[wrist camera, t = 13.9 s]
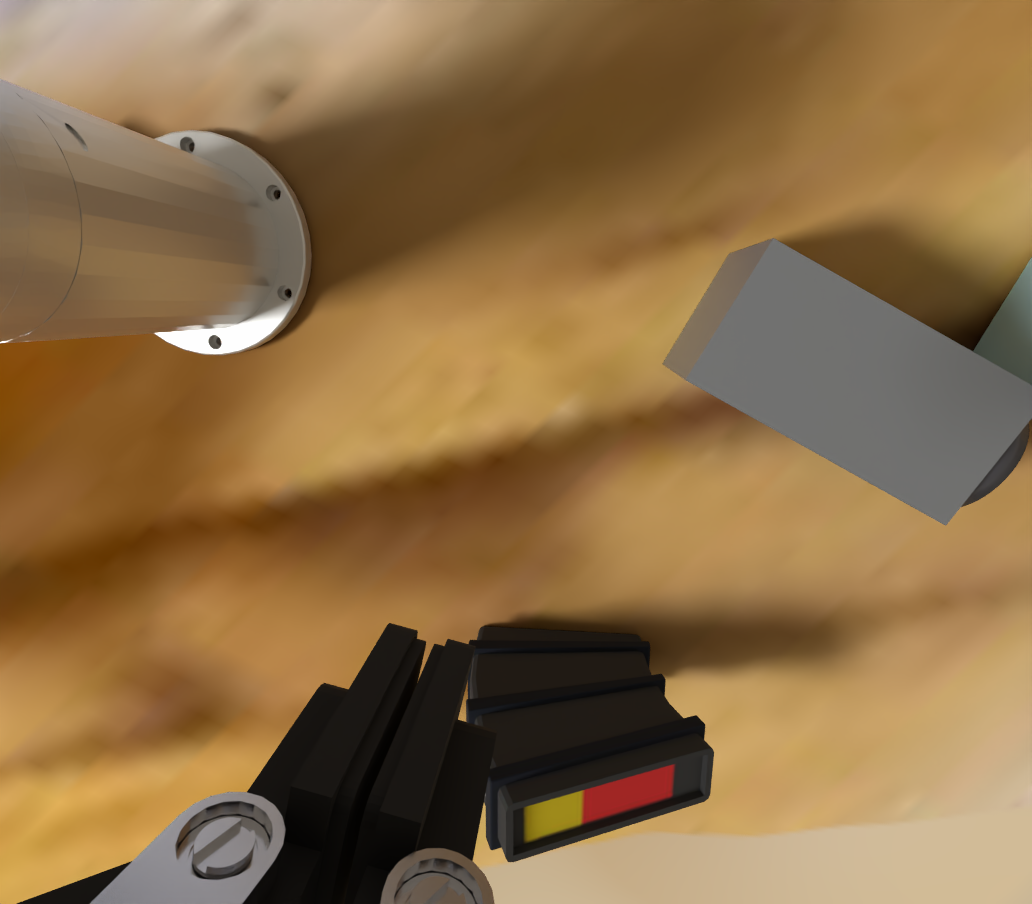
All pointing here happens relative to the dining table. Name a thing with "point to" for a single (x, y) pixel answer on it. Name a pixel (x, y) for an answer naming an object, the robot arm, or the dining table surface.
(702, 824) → the dining table surface
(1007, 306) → the side door
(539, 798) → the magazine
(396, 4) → the dining table surface
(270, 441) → the dining table surface
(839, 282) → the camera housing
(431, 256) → the dining table surface
